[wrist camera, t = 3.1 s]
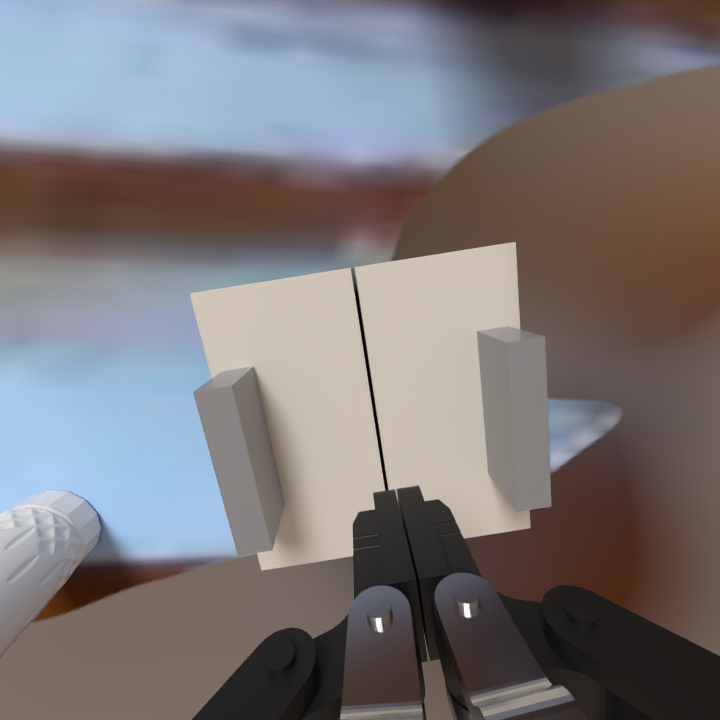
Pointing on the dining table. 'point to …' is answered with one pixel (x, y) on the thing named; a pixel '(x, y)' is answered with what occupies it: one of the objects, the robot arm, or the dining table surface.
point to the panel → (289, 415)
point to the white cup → (40, 555)
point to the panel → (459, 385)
